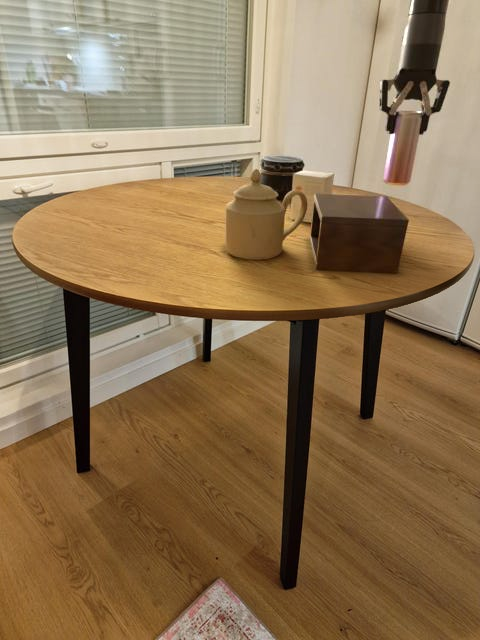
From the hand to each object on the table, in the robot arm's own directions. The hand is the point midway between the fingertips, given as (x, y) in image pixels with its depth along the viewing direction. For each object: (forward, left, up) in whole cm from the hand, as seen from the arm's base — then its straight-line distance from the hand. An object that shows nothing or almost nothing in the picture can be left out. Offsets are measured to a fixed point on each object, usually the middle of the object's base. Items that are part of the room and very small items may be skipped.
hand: (405, 133), depth 93 cm
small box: (+19, +3, -19) cm, 27 cm away
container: (+26, -21, -19) cm, 39 cm away
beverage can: (0, 0, -11) cm, 11 cm away
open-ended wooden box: (+13, +26, -19) cm, 35 cm away
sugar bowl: (+30, +24, -19) cm, 43 cm away
